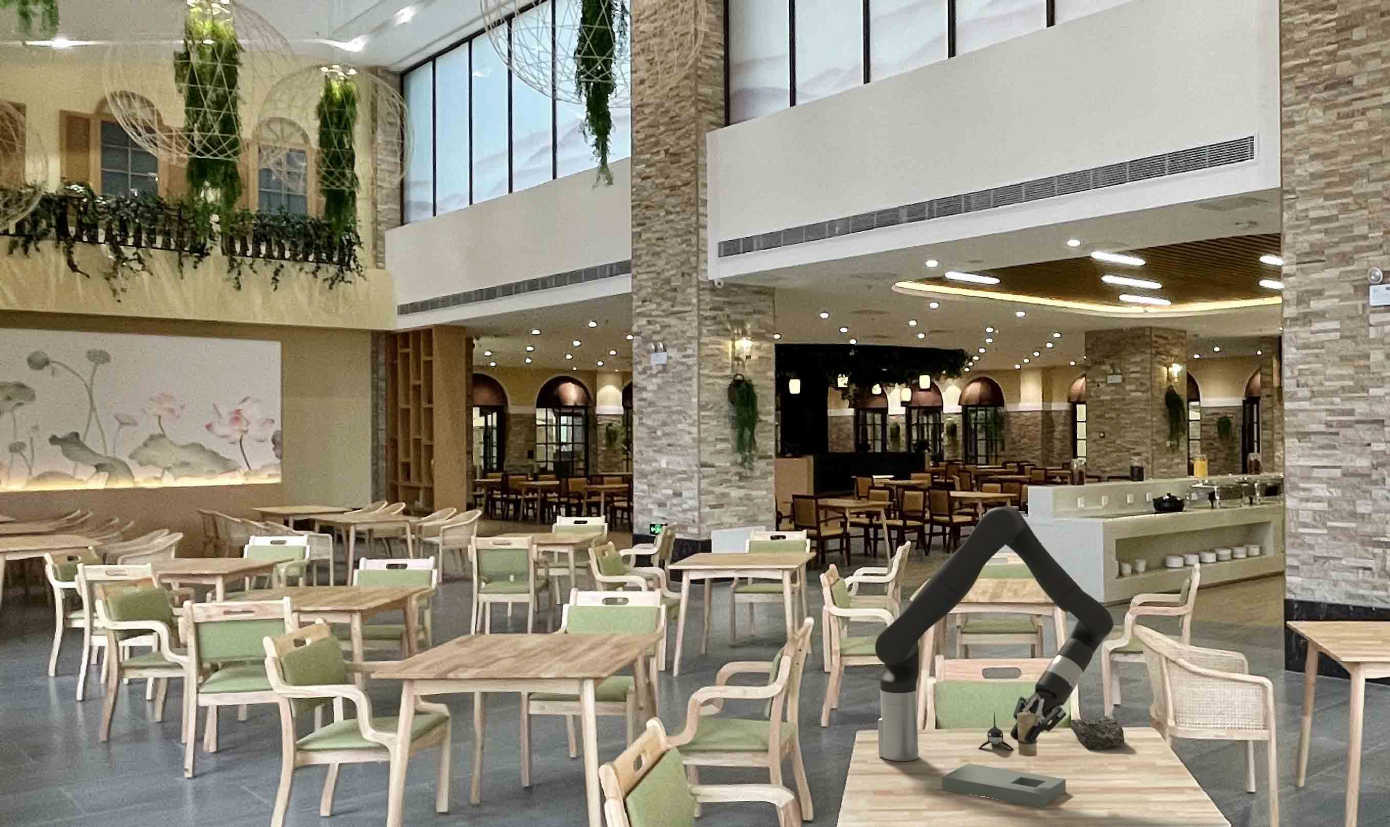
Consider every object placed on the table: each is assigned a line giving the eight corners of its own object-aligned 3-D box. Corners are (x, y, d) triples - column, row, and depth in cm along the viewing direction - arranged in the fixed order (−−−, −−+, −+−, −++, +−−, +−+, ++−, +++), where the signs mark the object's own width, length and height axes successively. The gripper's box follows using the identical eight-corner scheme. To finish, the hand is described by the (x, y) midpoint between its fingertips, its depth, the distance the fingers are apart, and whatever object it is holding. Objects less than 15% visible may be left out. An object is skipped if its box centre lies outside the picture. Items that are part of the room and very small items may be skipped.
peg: (1014, 754, 270) (1013, 715, 270) (1022, 750, 273) (1021, 711, 273) (1033, 757, 267) (1031, 717, 267) (1040, 753, 271) (1039, 713, 271)
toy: (1016, 750, 304) (1014, 710, 307) (976, 749, 306) (975, 709, 309) (1013, 750, 324) (1011, 712, 327) (976, 749, 326) (975, 712, 329)
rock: (1068, 714, 323) (1069, 736, 323) (1083, 728, 307) (1084, 752, 307) (1113, 713, 322) (1113, 736, 322) (1130, 727, 306) (1131, 751, 306)
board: (942, 789, 276) (941, 776, 276) (968, 775, 287) (968, 763, 287) (1041, 807, 261) (1041, 794, 261) (1065, 792, 272) (1065, 779, 272)
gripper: (1028, 665, 280) (989, 723, 275) (1072, 674, 268) (1032, 736, 262) (1046, 685, 283) (1008, 743, 277) (1090, 695, 270) (1051, 757, 264)
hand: (1020, 739), depth 269 cm, fingers closed on peg, 4 cm apart
